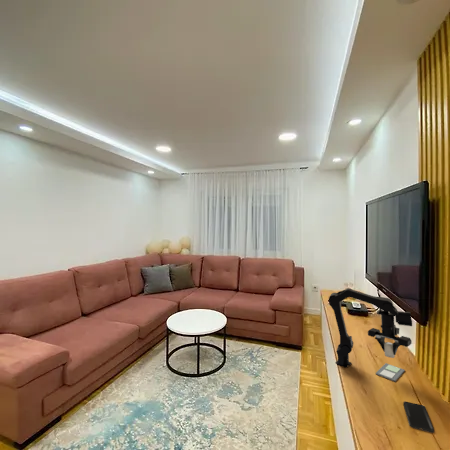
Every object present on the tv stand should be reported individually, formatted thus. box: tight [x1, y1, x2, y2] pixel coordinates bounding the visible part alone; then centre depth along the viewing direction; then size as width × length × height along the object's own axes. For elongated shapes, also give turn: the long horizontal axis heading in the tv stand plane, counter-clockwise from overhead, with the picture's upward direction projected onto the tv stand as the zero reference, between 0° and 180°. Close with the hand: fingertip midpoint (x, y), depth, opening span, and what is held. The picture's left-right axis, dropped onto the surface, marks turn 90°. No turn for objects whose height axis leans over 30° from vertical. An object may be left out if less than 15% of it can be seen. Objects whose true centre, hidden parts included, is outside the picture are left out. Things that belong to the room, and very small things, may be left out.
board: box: [375, 362, 406, 383], centre depth 135 cm, size 14×9×1 cm, turn 129°
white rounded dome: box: [384, 341, 396, 359], centre depth 134 cm, size 4×4×6 cm
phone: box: [402, 400, 435, 434], centre depth 104 cm, size 8×1×15 cm
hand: (389, 353), depth 134 cm, fingers closed on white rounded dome, 4 cm apart
